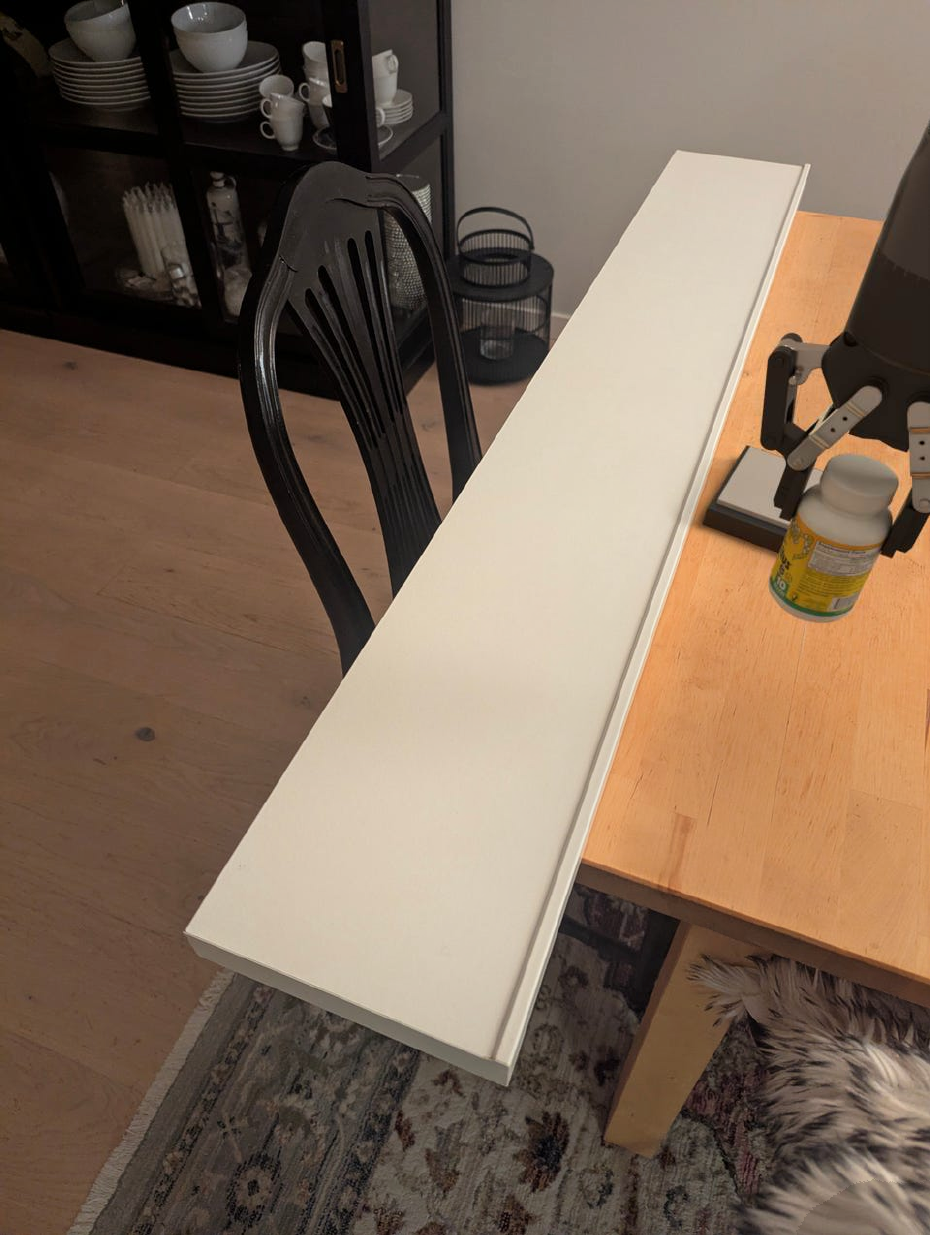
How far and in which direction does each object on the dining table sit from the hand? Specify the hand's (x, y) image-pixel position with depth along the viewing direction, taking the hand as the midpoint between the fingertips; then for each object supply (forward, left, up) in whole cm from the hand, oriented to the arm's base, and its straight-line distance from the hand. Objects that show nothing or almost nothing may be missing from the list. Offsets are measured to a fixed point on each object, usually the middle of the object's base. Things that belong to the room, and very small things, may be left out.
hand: (838, 529), depth 53 cm
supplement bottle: (0, 0, -6) cm, 6 cm away
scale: (+5, -27, -20) cm, 34 cm away
